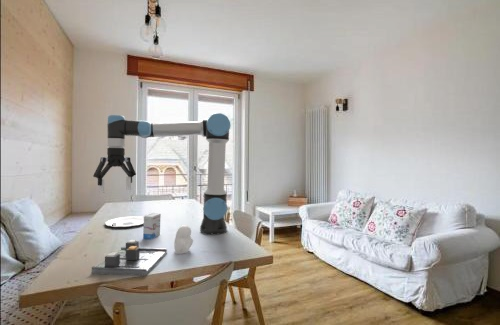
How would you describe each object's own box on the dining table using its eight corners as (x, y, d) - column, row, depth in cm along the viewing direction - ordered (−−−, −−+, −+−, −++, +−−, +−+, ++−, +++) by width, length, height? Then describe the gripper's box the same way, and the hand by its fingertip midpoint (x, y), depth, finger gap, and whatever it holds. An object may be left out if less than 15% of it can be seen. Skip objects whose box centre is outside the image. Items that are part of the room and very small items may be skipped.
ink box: (151, 239, 134) (151, 216, 134) (142, 238, 135) (142, 215, 135) (160, 234, 143) (160, 213, 142) (152, 234, 144) (152, 212, 143)
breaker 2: (138, 250, 115) (138, 239, 115) (135, 252, 112) (135, 242, 112) (129, 249, 115) (129, 239, 115) (125, 252, 112) (125, 241, 112)
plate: (154, 225, 161) (154, 222, 161) (108, 232, 146) (108, 228, 146) (144, 217, 181) (144, 214, 181) (102, 222, 167) (102, 219, 167)
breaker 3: (139, 257, 107) (139, 246, 107) (135, 260, 104) (135, 248, 104) (129, 256, 107) (129, 245, 107) (125, 259, 104) (126, 248, 104)
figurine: (182, 255, 114) (183, 228, 114) (170, 252, 118) (170, 225, 118) (194, 250, 120) (194, 224, 120) (182, 247, 124) (182, 222, 124)
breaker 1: (119, 264, 100) (119, 252, 100) (115, 268, 97) (115, 255, 97) (109, 264, 100) (109, 252, 100) (104, 267, 97) (104, 255, 97)
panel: (166, 253, 116) (166, 248, 116) (145, 275, 95) (145, 269, 95) (122, 252, 117) (122, 247, 117) (91, 273, 96) (91, 267, 96)
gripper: (134, 148, 141) (134, 187, 142) (85, 146, 120) (84, 192, 121) (143, 148, 137) (142, 189, 138) (93, 146, 116) (93, 194, 117)
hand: (115, 191), depth 129 cm, fingers open, 13 cm apart
